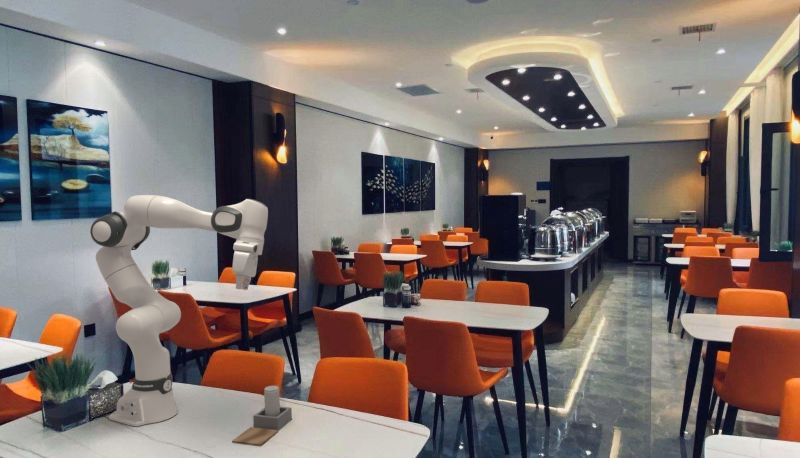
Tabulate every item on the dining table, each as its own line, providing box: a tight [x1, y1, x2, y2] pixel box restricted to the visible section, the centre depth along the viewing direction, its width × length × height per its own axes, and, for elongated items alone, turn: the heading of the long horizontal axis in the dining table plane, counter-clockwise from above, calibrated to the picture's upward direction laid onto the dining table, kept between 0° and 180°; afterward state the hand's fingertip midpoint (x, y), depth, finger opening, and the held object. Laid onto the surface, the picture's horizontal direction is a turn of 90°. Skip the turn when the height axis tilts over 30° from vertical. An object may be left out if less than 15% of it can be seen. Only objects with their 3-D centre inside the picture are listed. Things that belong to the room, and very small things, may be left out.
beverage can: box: [263, 385, 281, 417], centre depth 176 cm, size 5×5×12 cm
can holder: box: [252, 406, 293, 431], centre depth 176 cm, size 9×9×4 cm
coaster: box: [231, 426, 279, 447], centre depth 167 cm, size 10×10×1 cm
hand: (241, 289), depth 175 cm, fingers open, 8 cm apart
